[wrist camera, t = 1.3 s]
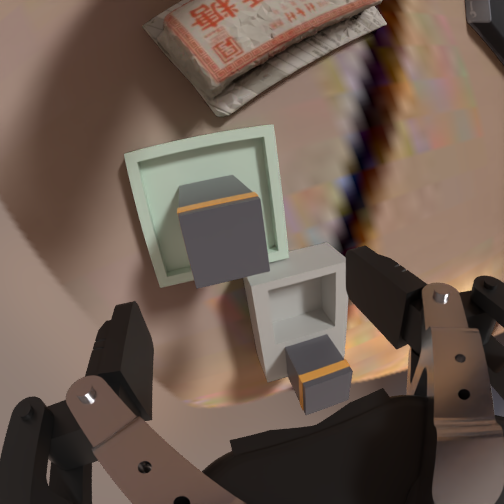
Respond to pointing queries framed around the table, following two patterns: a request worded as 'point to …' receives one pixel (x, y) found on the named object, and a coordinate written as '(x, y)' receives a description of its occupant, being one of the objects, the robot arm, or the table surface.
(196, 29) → the packaged product
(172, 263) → the tray
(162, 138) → the table surface
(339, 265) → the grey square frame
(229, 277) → the plug
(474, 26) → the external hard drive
